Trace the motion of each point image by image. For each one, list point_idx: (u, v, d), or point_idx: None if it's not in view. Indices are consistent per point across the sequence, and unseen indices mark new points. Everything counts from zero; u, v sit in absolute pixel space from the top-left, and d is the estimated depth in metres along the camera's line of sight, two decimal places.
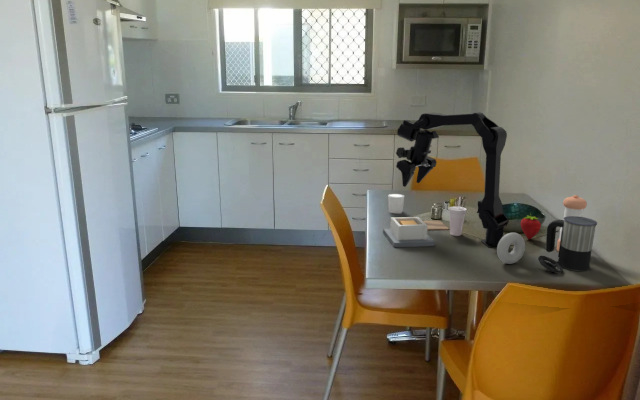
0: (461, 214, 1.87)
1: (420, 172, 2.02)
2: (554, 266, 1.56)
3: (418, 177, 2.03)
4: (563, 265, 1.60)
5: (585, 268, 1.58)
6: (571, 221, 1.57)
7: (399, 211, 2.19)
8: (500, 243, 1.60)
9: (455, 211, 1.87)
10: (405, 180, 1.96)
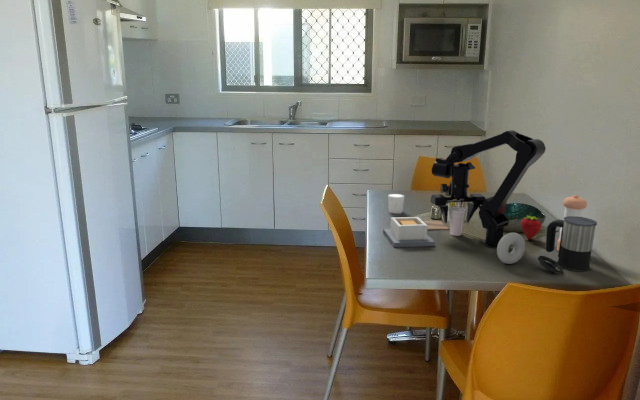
0: (461, 214, 1.87)
1: (468, 211, 1.91)
2: (554, 266, 1.56)
3: (467, 216, 1.91)
4: (563, 265, 1.60)
5: (585, 268, 1.58)
6: (571, 221, 1.57)
7: (399, 211, 2.19)
8: (500, 243, 1.60)
9: (455, 211, 1.87)
10: (444, 216, 1.89)
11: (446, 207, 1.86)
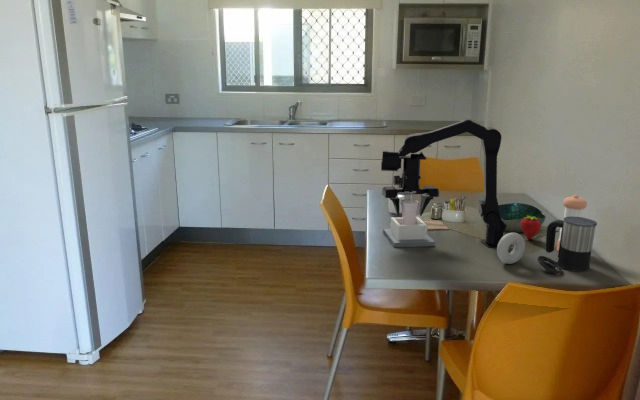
0: (414, 206, 1.80)
1: (421, 203, 1.83)
2: (553, 266, 1.56)
3: (420, 209, 1.84)
4: (563, 265, 1.60)
5: (585, 269, 1.58)
6: (571, 221, 1.57)
7: (399, 211, 2.19)
8: (500, 243, 1.60)
9: (408, 204, 1.80)
10: (396, 209, 1.82)
11: (397, 199, 1.79)
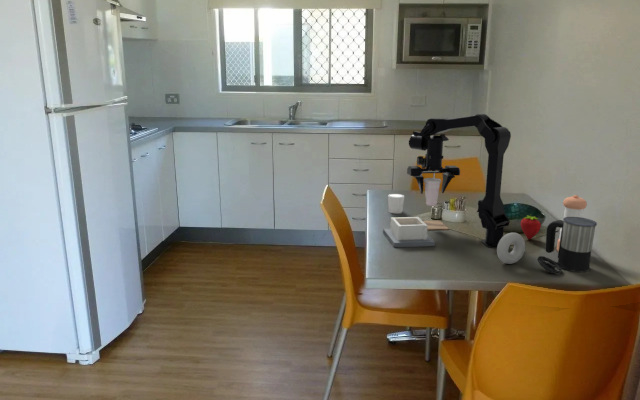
0: (437, 184, 1.95)
1: (443, 182, 1.98)
2: (553, 267, 1.55)
3: (442, 187, 1.99)
4: (562, 266, 1.60)
5: (585, 269, 1.58)
6: (571, 222, 1.57)
7: (399, 211, 2.19)
8: (500, 243, 1.60)
9: (431, 182, 1.94)
10: (420, 186, 1.97)
11: (421, 177, 1.94)
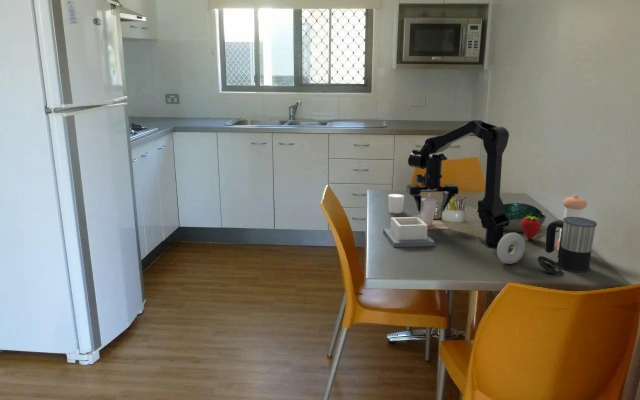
0: (422, 203, 1.99)
1: (443, 200, 2.00)
2: (553, 267, 1.55)
3: (442, 205, 2.01)
4: (562, 266, 1.60)
5: (585, 269, 1.58)
6: (570, 222, 1.57)
7: (399, 211, 2.19)
8: (500, 243, 1.60)
9: None
10: (417, 205, 1.99)
11: (419, 196, 1.95)
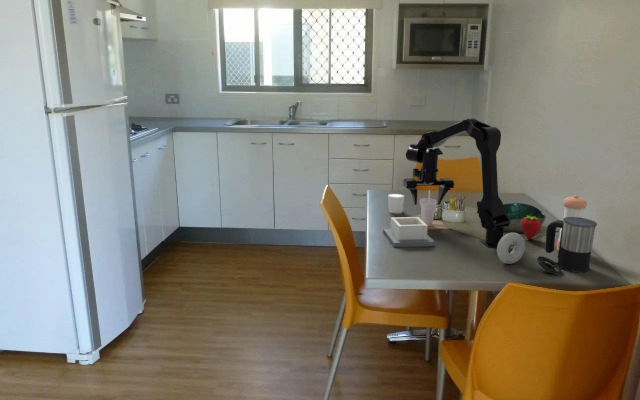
0: (422, 205, 1.98)
1: (439, 194, 2.04)
2: (553, 267, 1.55)
3: (438, 199, 2.05)
4: (562, 266, 1.60)
5: (585, 269, 1.57)
6: (570, 222, 1.57)
7: (399, 211, 2.19)
8: (500, 243, 1.60)
9: (420, 200, 1.99)
10: (414, 198, 2.03)
11: (415, 190, 1.99)
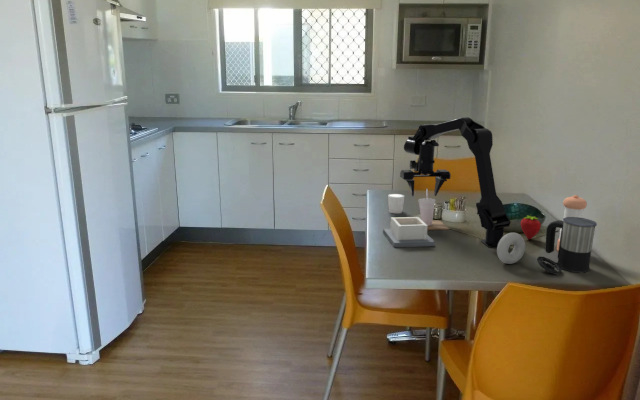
0: (420, 204, 1.99)
1: (436, 185, 2.08)
2: (553, 267, 1.55)
3: (435, 190, 2.09)
4: (562, 266, 1.59)
5: (585, 270, 1.57)
6: (570, 222, 1.57)
7: (399, 211, 2.19)
8: (500, 243, 1.60)
9: None
10: (411, 189, 2.07)
11: (412, 181, 2.03)
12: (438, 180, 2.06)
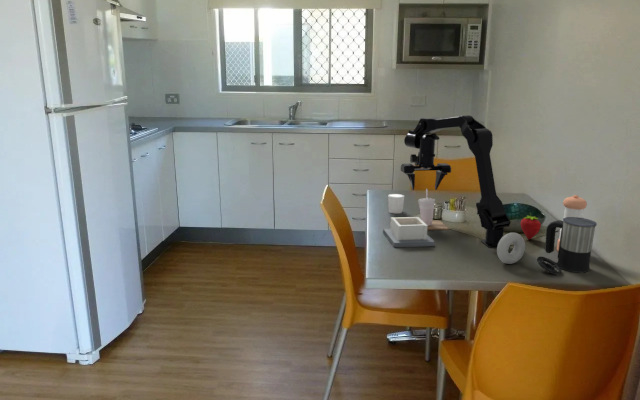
0: (420, 204, 1.98)
1: (436, 179, 2.07)
2: (553, 267, 1.55)
3: (435, 184, 2.08)
4: (562, 266, 1.59)
5: (585, 270, 1.57)
6: (570, 222, 1.56)
7: (399, 211, 2.19)
8: (500, 243, 1.60)
9: (418, 200, 2.00)
10: (411, 183, 2.06)
11: (413, 175, 2.03)
12: (439, 174, 2.05)
